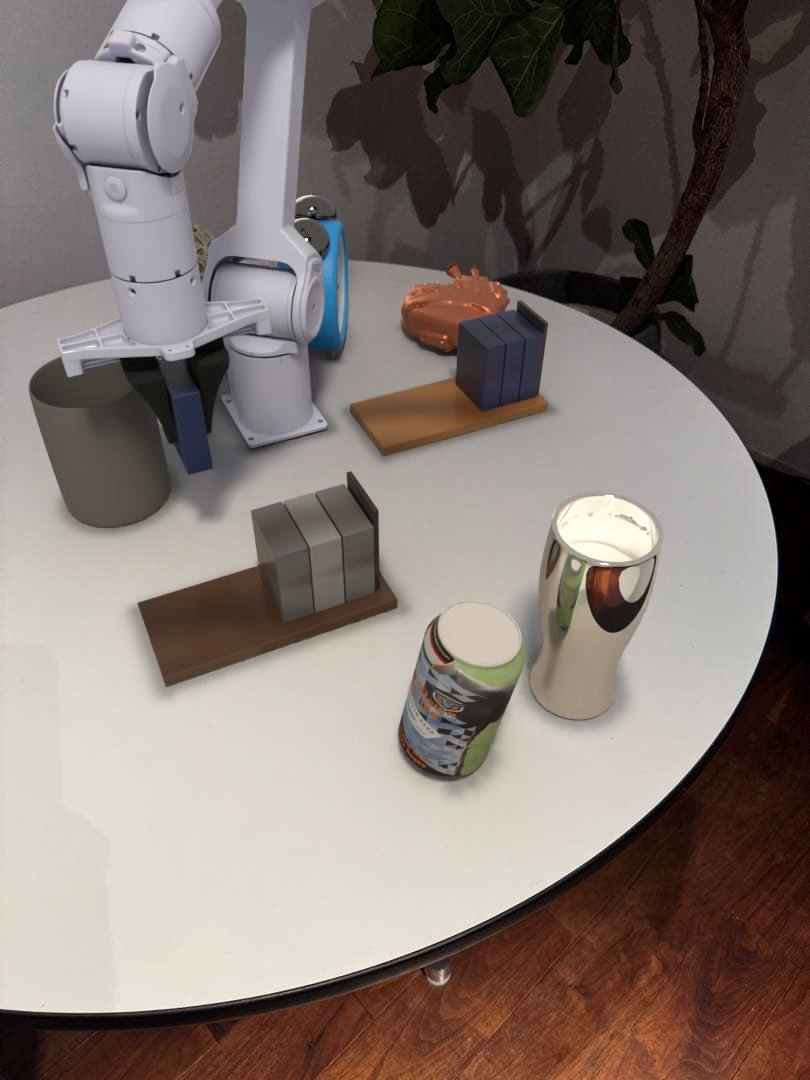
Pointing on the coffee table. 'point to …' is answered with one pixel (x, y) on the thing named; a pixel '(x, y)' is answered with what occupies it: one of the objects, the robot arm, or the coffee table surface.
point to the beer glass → (592, 599)
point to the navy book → (187, 417)
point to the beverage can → (461, 688)
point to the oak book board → (430, 415)
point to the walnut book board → (234, 623)
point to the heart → (451, 306)
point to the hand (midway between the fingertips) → (187, 432)
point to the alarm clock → (326, 266)
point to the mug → (100, 443)
